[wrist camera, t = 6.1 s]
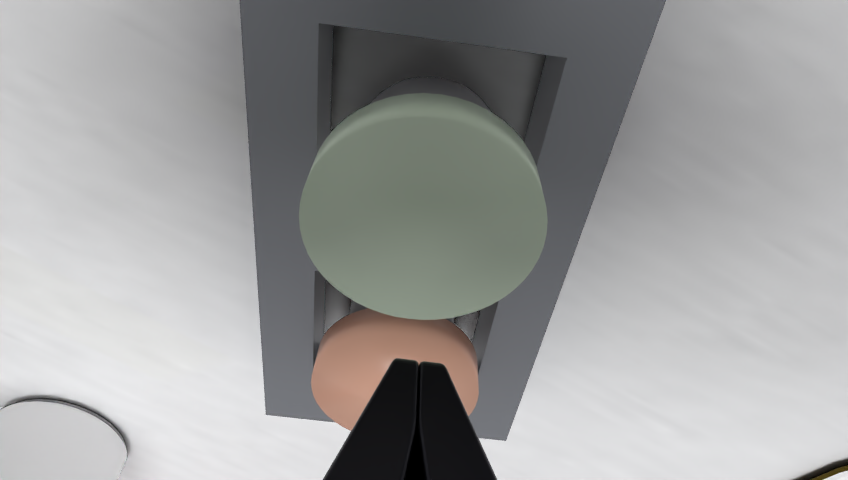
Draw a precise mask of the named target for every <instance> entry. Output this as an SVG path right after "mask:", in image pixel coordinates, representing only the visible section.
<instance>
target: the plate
mask: <svg viewBox="0 0 848 480" xmlns="http://www.w3.org/2000/svg"><path fill="white" fill-rule="evenodd" d="M810 480H848V465H847V466H843V467H840V468H837V469H834V470H832V471H829V472H827V473H825V474H822V475H820V476H818V477H815V478H813V479H810Z"/></svg>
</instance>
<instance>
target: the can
mask: <svg viewBox="0 0 848 480" xmlns="http://www.w3.org/2000/svg"><path fill="white" fill-rule="evenodd" d="M126 460H127V450H126V447H125V443H124V440H123V438H122V436H121V434H120V433H119V431H118V430H117V429H116V428H115V427H114V426H113V425H112V424H111V423H110V422H108V421H107V420H106V419H104V418H103V417H101V416H99V415H98V414H96V413H94V412H92V411H90V410H88V409H86V408H83V407H80V406H78V405H75V404H71V403H68V402H63V401H58V400H51V399H31V400H25V401H21V402H18V403H16V404H12V405H9V406H7V407H5V408H3V409H1V410H0V480H118V478H119V476H120V474H121V471H122V469H123V467H124V465H125V462H126Z"/></svg>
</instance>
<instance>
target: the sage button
mask: <svg viewBox="0 0 848 480" xmlns="http://www.w3.org/2000/svg"><path fill="white" fill-rule="evenodd" d="M547 223H548V219H547V208H546V203H545V199H544V195H543V191H542V186H541V182H540V178H539V174H538V170H537V166H536V164H535V161H534V159H533V157H532V155H531V152H530V151H529V149H528V148H527V146H526V144H525V143H524V141H523V140H522V139H521V138H520V136H519V135H518V134H517V133H516V132H515V131H514V129H513V128H511V127H510V126H509V125H508V124H507V123H506V122H505V121H503V120H502V119H501V118H500V117H498V116H496V115H495V114H493V113H492V112H491V111H490V109H489V108H488V106H487V105H486V104H485V103H484V101H483V100H482V99H481V98H480V97H479V96H478V95H477V94H475V93H474V92H473V91H472V90H470V89H469V88H467V87H465V86H463V85H461V84H459V83H457V82H454V81H451V80H449V79H444V78H439V77H416V78H411V79H407V80H404V81H401V82H398V83H396V84H394V85H392V86H390V87H388V88H387V89H385V90H384V91H382V92H381V93H380V94H379V95H378V96H377V97H376V98H375V99H374V100H373V101H372V102H371V103H370V104H369V105H367V106H365V107H362V108H360V109H359V110H357V111H356V112H354V113H353V114H351V115H349V116H348V117H347V118H345V119H344V120H343V121H342V122H341V123H340V124H338V125H337V126H336V127H335V128H334V129H333V131H332V132H331V133H330V134H329V135H328V136H327V138H326V139H325V141H324V142H323V144H322V146H321V147H320V149H319V151H318V153H317V155H316V158H315V160H314V162H313V165H312V168H311V170H310V173H309V175H308V178H307V181H306V183H305V186H304V189H303V192H302V196H301V200H300V207H299V224H300V232H301V236H302V240H303V243H304V246H305V248H306V250H307V253H308V255H309V257H310V258H311V260H312V262H313V264H314V265H315V267H316V268H317V269H318V271H319V272H320V273H321V274H322V276H323V277H324V278H325V279H326V280H327V281H328V282H329V283H330V284H331V285H332V286H333V287H335V288H336V289H337V290H338V291H340V292H341V293H342V294H343V295H345V296H347V297H348V298H350V299H351V300H353V301H355V302H356V303H358V304H361V305H363V306H365V307H367V308H369V309H372V310H374V311H377V312H380V313H383V314H387V315H391V316H394V317H400V318H406V319H417V320H438V319H447V318H453V317H458V316H463V315H467V314H470V313H473V312H476V311H479V310H481V309H483V308H486V307H488V306H490V305H492V304H494V303H496V302H497V301H499V300H501V299H502V298H504V297H505V296H507V295H508V294H509V293H511V292H512V291H513V290H514V289H516V288H517V287H518V286H519V285H520V284H521V283H522V282H523V281H524V280H525V278H526V277H527V276H528V275H529V273H530V272H531V271H532V269H533V268H534V266H535V264H536V263H537V261H538V259H539V257H540V255H541V252H542V250H543V247H544V243H545V239H546V235H547Z"/></svg>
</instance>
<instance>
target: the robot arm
mask: <svg viewBox="0 0 848 480" xmlns="http://www.w3.org/2000/svg"><path fill="white" fill-rule="evenodd" d="M323 480H497V478H496V476H495V474H494V472H493V469H492V467H491V465H490V463H489V461H488V458H487V456H486V454H485V452H484V450H483V447H482V445H481V443H480V441H479V439H478V436H477V434H476V432H475V430H474V428H473V425H472V423H471V421H470V419H469V417H468V414H467V412H466V410H465V408H464V406H463V403H462V401H461V399H460V397H459V395H458V392H457V390H456V388H455V386H454V384H453V381H452V379H451V377H450V375H449V373H448V370H447V368H446V367H445V365H443V364H441V363H434V362H426V361H423V362H421V363H420V364H418V362H417V361H415V360H409V359H401V358H396V359H394V360H393V361H392V363H391V364H390V366H389V368H388V369H387V371H386V373H385V374H384V376H383V378H382V380H381V381H380V383H379V385H378V386H377V388H376V390H375V391H374V393H373V395H372V397H371V398H370V400H369V402H368V403H367V405H366V407H365V409H364V410H363V412H362V414H361V415H360V417H359V419H358V420H357V422H356V424H355V426H354V427H353V429H352V431H351V432H350V434H349V436H348V438H347V439H346V441H345V443H344V444H343V446H342V448H341V449H340V451H339V453H338V455H337V456H336V458H335V460H334V461H333V463H332V465H331V467H330V468H329V470H328V472H327V473H326V475H325V477H324V478H323Z"/></svg>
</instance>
